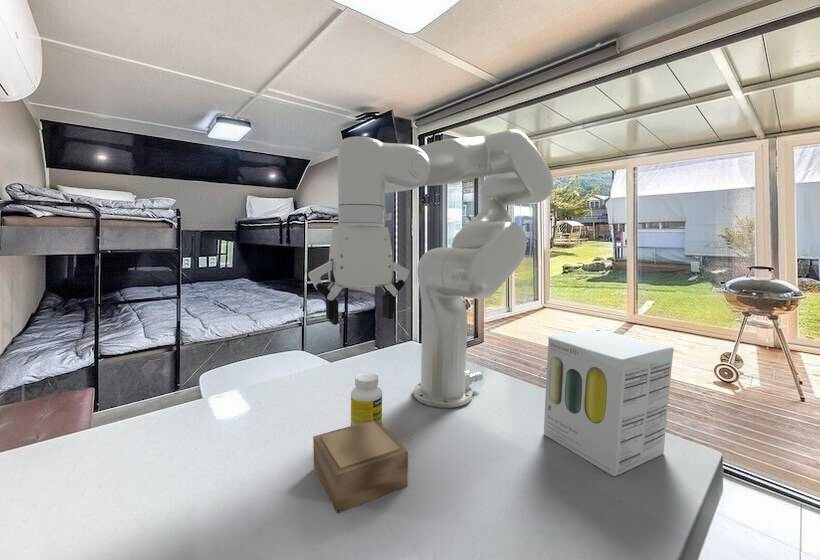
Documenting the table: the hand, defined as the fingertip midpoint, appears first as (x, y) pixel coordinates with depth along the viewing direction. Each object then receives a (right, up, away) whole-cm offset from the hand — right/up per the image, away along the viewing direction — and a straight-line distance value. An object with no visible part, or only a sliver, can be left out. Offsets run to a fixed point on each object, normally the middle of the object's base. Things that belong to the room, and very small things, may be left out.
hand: (361, 320), depth 61 cm
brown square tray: (+1, -21, -10) cm, 23 cm away
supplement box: (+40, -21, -1) cm, 45 cm away
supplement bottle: (+1, -20, +2) cm, 20 cm away
